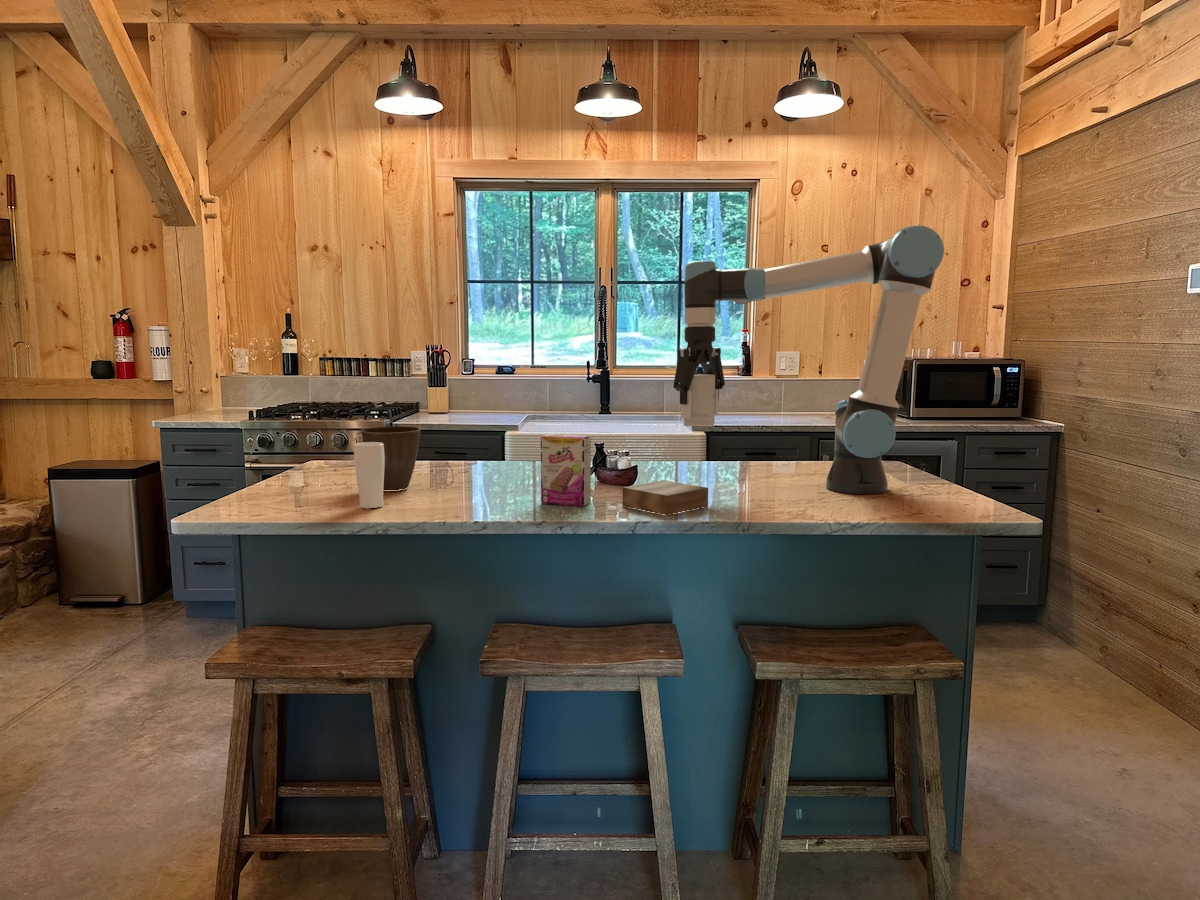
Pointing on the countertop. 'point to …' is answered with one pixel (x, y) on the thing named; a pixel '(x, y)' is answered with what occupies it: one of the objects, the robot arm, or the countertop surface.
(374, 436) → the plant pot
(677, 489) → the walnut base block
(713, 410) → the supplement box
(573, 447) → the candy bar box
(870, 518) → the countertop surface
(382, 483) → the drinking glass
